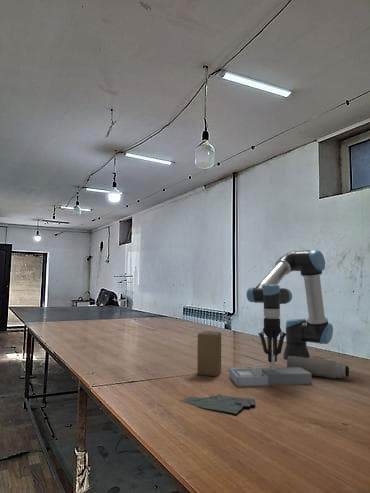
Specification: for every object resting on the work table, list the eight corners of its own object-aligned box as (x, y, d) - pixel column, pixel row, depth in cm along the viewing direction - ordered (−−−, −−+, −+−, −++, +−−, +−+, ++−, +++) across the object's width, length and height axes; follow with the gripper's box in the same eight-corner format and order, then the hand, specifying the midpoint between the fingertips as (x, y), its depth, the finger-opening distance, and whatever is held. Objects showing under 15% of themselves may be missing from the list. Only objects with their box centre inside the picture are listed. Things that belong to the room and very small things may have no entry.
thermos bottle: (290, 373, 188) (349, 382, 172) (285, 369, 182) (346, 377, 167) (292, 358, 191) (350, 365, 176) (288, 353, 186) (347, 360, 170)
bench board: (300, 376, 176) (300, 367, 177) (311, 383, 165) (311, 373, 165) (260, 377, 174) (260, 367, 175) (268, 384, 163) (268, 374, 163)
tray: (257, 376, 176) (257, 367, 177) (268, 386, 161) (268, 376, 161) (229, 376, 175) (229, 368, 175) (237, 386, 159) (237, 377, 160)
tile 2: (257, 364, 172) (251, 365, 172) (261, 367, 166) (255, 368, 166) (257, 378, 171) (251, 378, 171) (261, 381, 165) (255, 381, 165)
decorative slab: (203, 422, 120) (203, 416, 120) (176, 400, 142) (176, 395, 142) (270, 412, 130) (269, 406, 130) (235, 392, 152) (235, 387, 152)
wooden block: (221, 372, 184) (221, 331, 186) (216, 377, 175) (216, 334, 177) (202, 370, 187) (202, 330, 189) (196, 375, 178) (197, 333, 180)
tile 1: (237, 371, 171) (237, 378, 170) (240, 375, 165) (240, 381, 164) (249, 371, 171) (250, 378, 171) (253, 374, 165) (253, 381, 165)
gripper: (282, 316, 176) (283, 367, 174) (256, 316, 175) (256, 367, 173) (288, 318, 169) (289, 371, 167) (260, 318, 167) (261, 371, 165)
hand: (272, 369), depth 170 cm, fingers closed
